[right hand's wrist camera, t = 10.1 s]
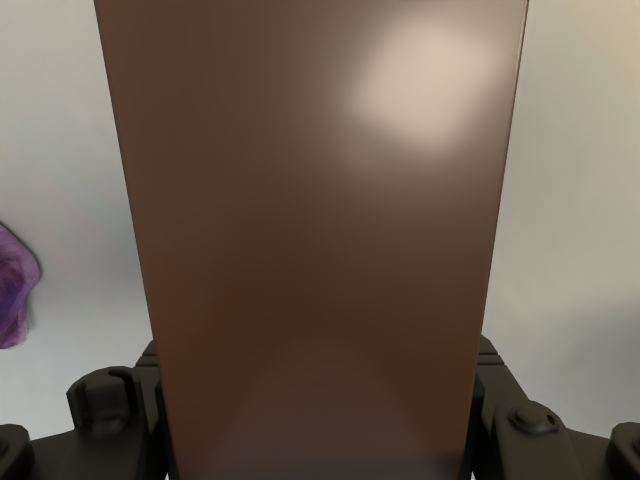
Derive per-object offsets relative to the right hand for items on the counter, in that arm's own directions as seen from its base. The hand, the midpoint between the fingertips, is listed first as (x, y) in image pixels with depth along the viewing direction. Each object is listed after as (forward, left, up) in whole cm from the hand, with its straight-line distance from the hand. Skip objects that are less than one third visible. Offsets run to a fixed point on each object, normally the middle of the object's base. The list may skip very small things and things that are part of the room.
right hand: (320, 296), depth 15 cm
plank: (0, -13, 0) cm, 13 cm away
